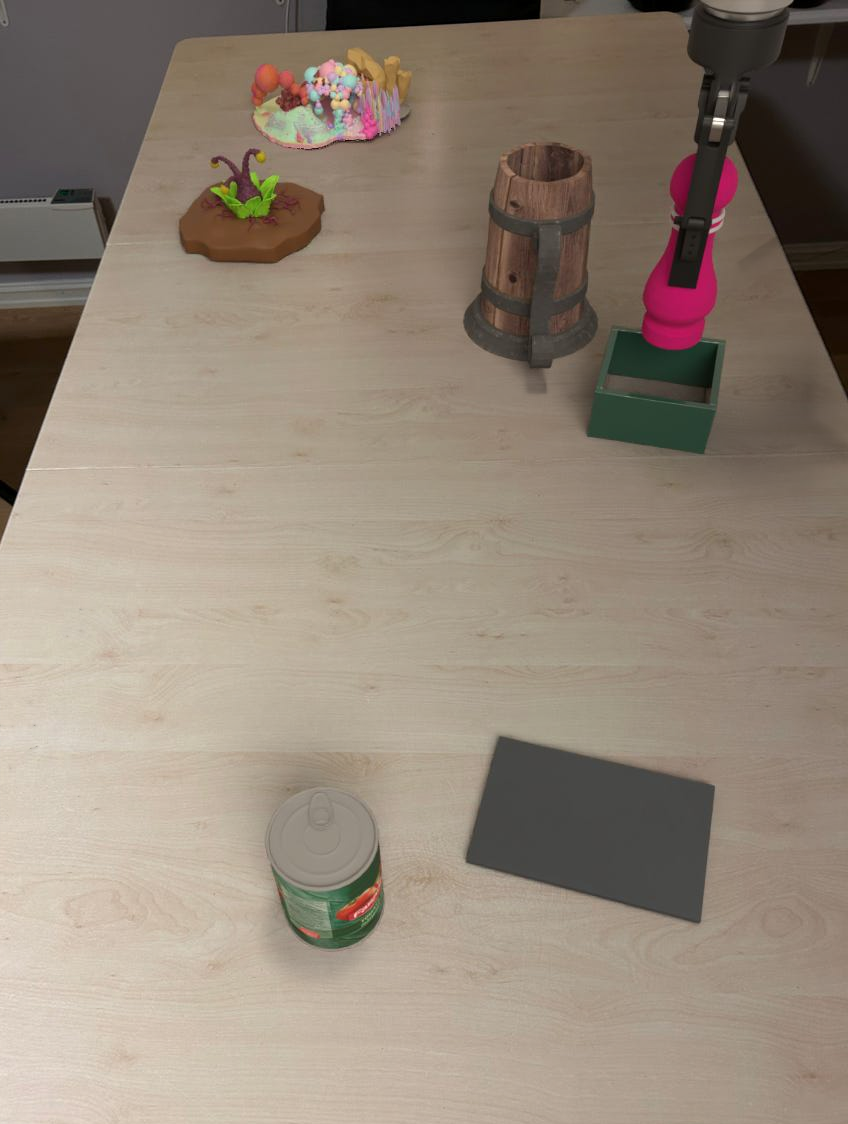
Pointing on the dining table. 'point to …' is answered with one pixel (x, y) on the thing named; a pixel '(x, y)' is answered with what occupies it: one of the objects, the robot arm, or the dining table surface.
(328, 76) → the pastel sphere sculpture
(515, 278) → the tankard
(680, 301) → the pepper mill
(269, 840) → the canned tomato
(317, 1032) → the dining table surface
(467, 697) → the dining table surface
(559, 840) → the mat
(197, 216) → the plant
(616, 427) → the holder
